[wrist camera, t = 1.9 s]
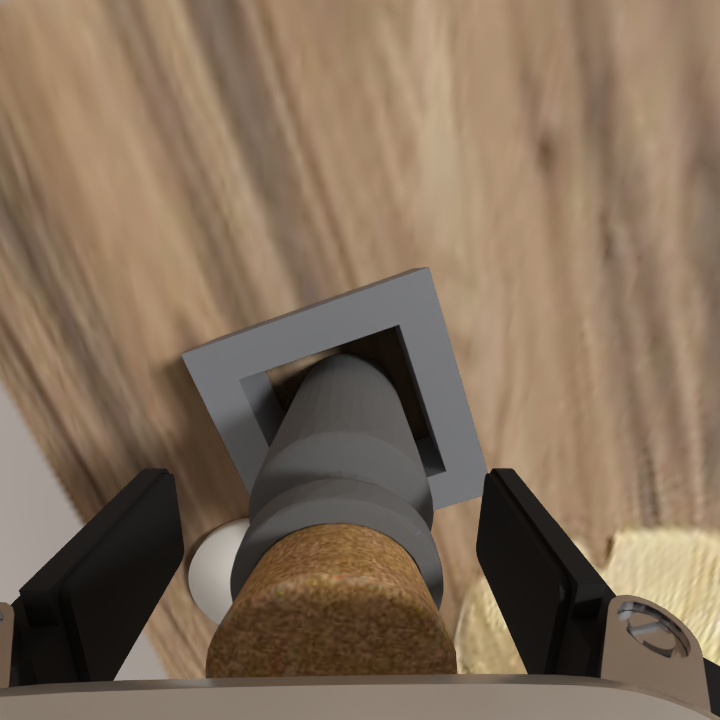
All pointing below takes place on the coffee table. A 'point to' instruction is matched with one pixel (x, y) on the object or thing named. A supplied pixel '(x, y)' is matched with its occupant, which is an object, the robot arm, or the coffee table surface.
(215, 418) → the square frame
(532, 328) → the coffee table surface
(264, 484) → the bottle
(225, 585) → the white round part
